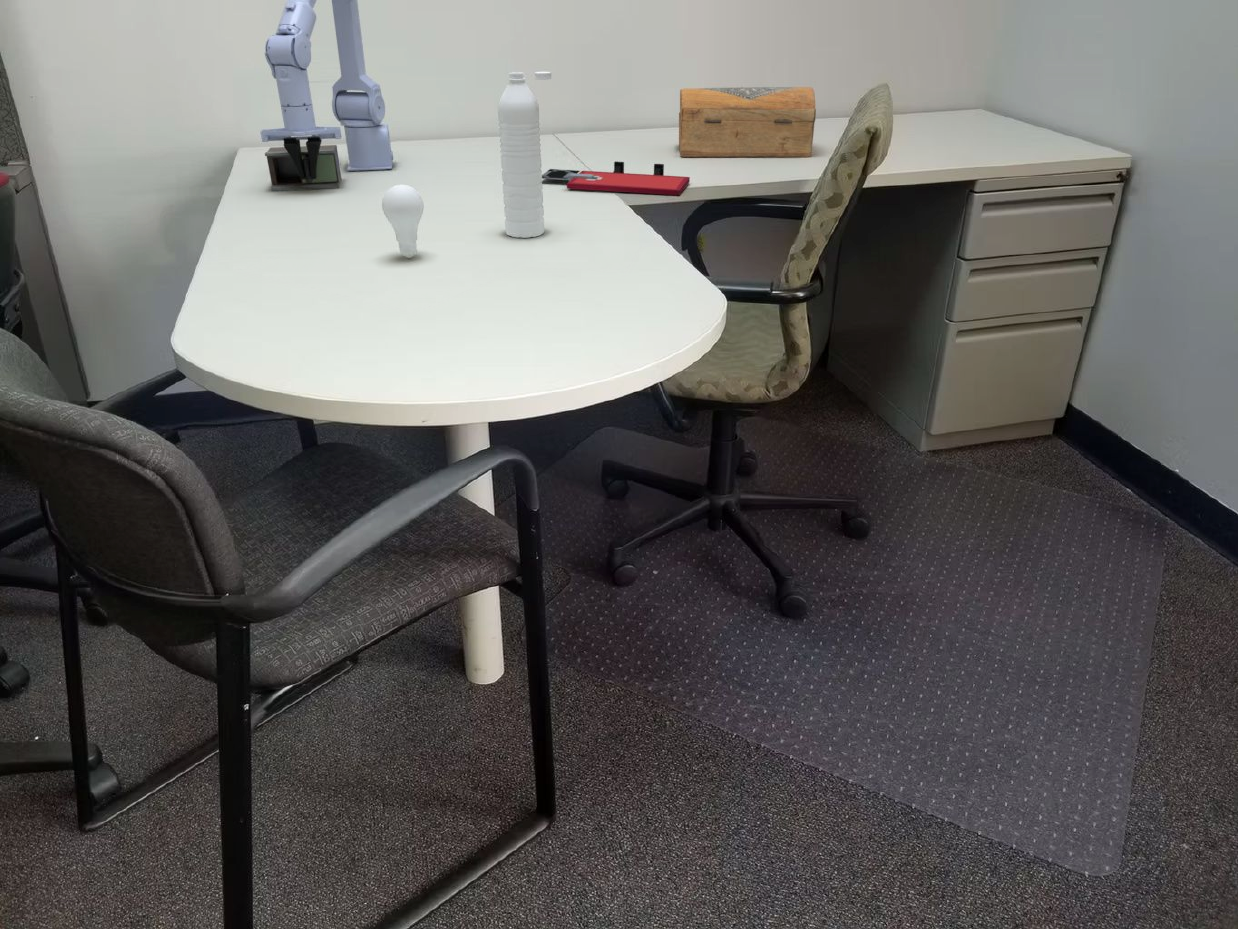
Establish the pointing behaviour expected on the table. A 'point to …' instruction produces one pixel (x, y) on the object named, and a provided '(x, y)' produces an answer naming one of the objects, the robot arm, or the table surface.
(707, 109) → the wooden box
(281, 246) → the table surface
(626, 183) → the red board with handle
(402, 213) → the lightbulb
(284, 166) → the cabinet
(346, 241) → the table surface
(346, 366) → the table surface
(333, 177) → the closet door
